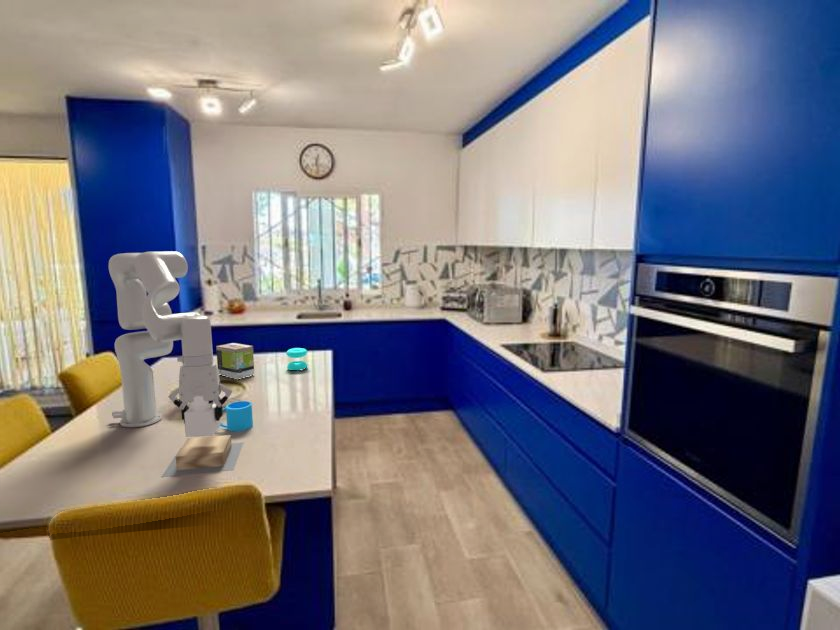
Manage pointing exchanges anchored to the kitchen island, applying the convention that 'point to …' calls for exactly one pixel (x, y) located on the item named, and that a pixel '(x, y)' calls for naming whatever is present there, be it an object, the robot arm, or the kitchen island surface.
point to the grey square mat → (227, 466)
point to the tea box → (235, 360)
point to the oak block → (204, 452)
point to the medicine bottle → (201, 418)
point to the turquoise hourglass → (296, 354)
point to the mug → (238, 416)
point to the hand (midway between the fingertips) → (202, 420)
